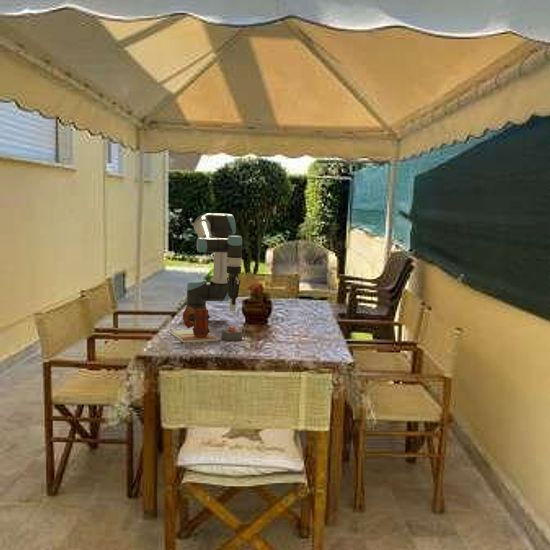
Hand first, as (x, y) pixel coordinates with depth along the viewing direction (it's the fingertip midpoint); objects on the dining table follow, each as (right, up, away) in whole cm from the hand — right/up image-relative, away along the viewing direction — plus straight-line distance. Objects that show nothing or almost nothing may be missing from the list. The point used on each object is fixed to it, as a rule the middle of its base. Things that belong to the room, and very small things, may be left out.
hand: (232, 310), depth 330 cm
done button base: (-1, -15, +2) cm, 15 cm away
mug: (-19, -13, -2) cm, 23 cm away
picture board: (-21, -14, +2) cm, 25 cm away
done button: (0, -12, +1) cm, 12 cm away
